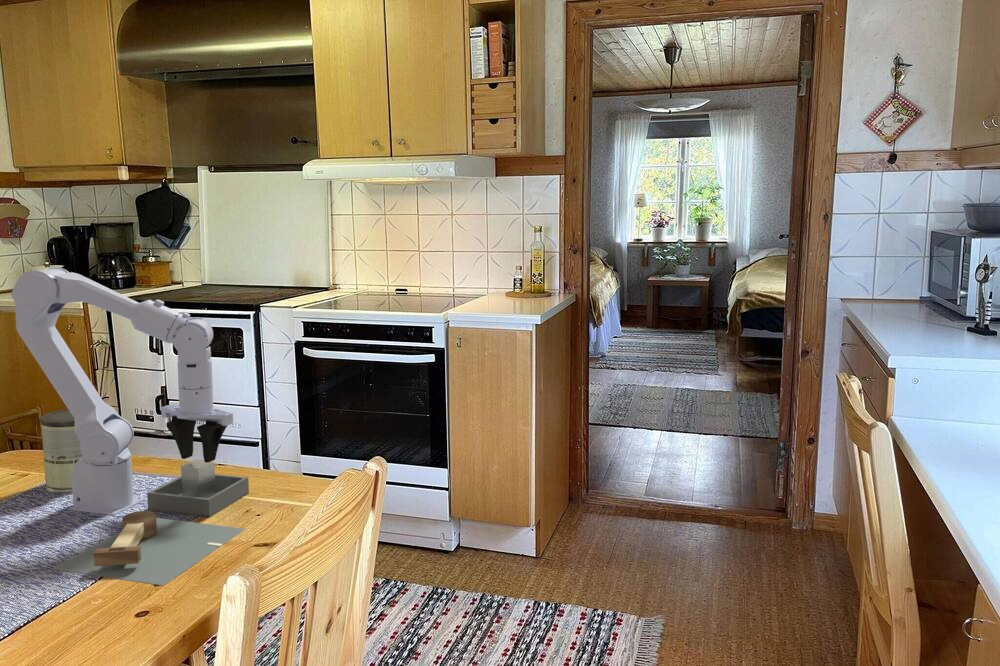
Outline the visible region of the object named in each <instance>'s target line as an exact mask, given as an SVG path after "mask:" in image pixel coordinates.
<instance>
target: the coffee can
mask: <svg viewBox="0 0 1000 666" xmlns="http://www.w3.org/2000/svg"><path fill="white" fill-rule="evenodd" d="M39 422H40V423H41V424H40V425H41V438H42V449H43V450H42V451H43V463H44V466H43V467H44V479H45V480H44V481H45V489H46V491H48V492H49V493H54V494H58V493H59V492H72V470H73V468H74V465H75V464H76V463H77V461H79V460H80V459H81V458H83V455H82V453H81V450H80V442H79V439H78V437H77V435H76V434H75V431H74V427H75V419H74V417H73V415H72V414H71V412H70V411H69V409H68V408H66V409H65V408H64V409H60V410H53V411H51V412H47V413H45V414H43V415H40V417H39Z"/></svg>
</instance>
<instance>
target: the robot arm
mask: <svg viewBox="0 0 1000 666" xmlns="http://www.w3.org/2000/svg"><path fill="white" fill-rule="evenodd" d="M10 296H11V298H12V300H13V301H14V308H15V309H14V311H15V329H16V331H17V333H18V335H19V336H20V338H21V340H22V341H23V343H24V345H25V346H26V347H27V349H28V350H29V352H30V353H31V355H32V357H34V359H35V361H36V362H37V364H38V365H39V367H40V368H41V370H42V371H43V373H44V375H45V376H46V378H47V379H48V381H49V382H50V384H51V385H52V387H53V388H54V389H55V391H56V393H57V394H58V395H59V397H60V399H61V400H62V402H63V404H64V405H65V406H66V409H69V411H70V412H71V414H72V415H73V417H74V419H75V427H74V431H75V434H76V435H77V437H78V439H79V442H80V450H81V453H82V455H83V458H81V459H80V460H79V461H77V463H76V464H75V465H74V468H73V470H72V491H71V492H72V504H73V506H71V507H69V510H70V511H77V512H83V513H85V512H86V513H90V514H91V513H92V514H93V513H94V514H101V515H109V516H117V515H118V514H120V513H122V512H124V511H126V510H128V509H130V508H132V507H133V506H137V505H138V504H140V503H141V502H144V501H145V498H143V497H137V496H134V488H133V471H132V470H133V469H132V468H133V467H132V466H133V465H132V453H131V452H130V450H129V445H130V444H131V443H132V442H133V440H134V436H135V433H134V432H135V431H134V427H133V425H132V423H130V421H128V419H126V418H123V417H122V416H121V415H119V413H118V412H117V410H116V409H115V408H114V407H113V406H111V405H109V404H108V403H106V402H104V400H103V398H102V396H100V394H99V393H98V391H97V389H96V388H95V386H94V385H93V382H91V379H90V378H89V377H88V376H87V374H86V372H85V371H84V369H83V368H82V366H81V364H80V363H79V362H78V360H77V358H76V357H75V355H74V354H73V352H72V351H71V349H70V347H69V346H68V344H67V342H66V341H65V340H64V339H63V337H62V335H61V334H60V332H59V330H58V329H57V328H56V324H57V321H58V319H59V317H60V314H61V311H62V309H64V307H65V306H66V305H67V304H70V303H71V304H72V303H80V302H81V303H86V304H89V305H91V306H95V307H96V308H100V309H102V310H105V311H107V312H110V313H113V314H114V315H115V314H116V315H118V316H121V317H123V318H126V319H128V320H129V321H131V324H132V326H133V329H134V330H136V331H138V332H141V333H144V334H146V335H148V336H151V337H153V338H155V339H158V340H160V341H162V342H165V343H167V344H173V347H174V348H175V349H176V351H177V379H178V384H177V385H178V387H177V388H178V404H179V405H173V404H172V405H171V404H168V405H165V406H160V407H161V409H160V410H161V411H160V414H161V418H163V419H164V418H165V419H167V418H171V419H170V421H167V422H166V424H165V425H166V428H167V430H169V432H170V434H171V435H172V437H173V439H174V440H175V443H176V445H177V448H178V452H179V455H180V457H181V459H182V460H185V459H188V458H191V457H193V455H194V433H195V429H196V430H197V431H198V434H199V437H200V440H201V445H202V456H203V460H204V461H205V462H206V463H208V462H214V461H215V460H216V457H217V452H218V449H219V444H220V442H221V439H222V437H223V434H224V432H225V431H226V429H227V427H228V426H229V425H233V424H234V413H233V412H229V411H225V410H222V409H218V408H216V407H214V390H213V388H214V387H213V365H212V364H213V362H212V352H211V350H212V349H211V346H209V345H210V344H211V343H212V341H213V339H214V330H213V327H212V326H211V324H210V323H209V322H208V321H206V320H204V319H203V318H202V317H199V316H197V317H191V314H190V313H188V312H183V313H181V312H179V311H177V310H174V309H172V308H170V307H168V306H165V302H164V301H163V300H160V299H155V300H152V299H147V300H144V301H141V302H138V301H136V300H135V299H132V298H130V297H128V296H125V295H124V294H122V293H119V292H117V291H115V290H113V289H111V288H109V287H107V286H105V285H102V284H100V283H99V282H96V281H95V280H92V279H91V278H89V277H86V276H84V275H82V274H80V273H76V272H72V271H71V272H69V271H68V270H67V269H65V268H62V267H55V266H54V267H53V266H52V267H49V268H46V269H39V270H37V269H36V270H29V271H25V272H24V273H22V274H21V275H20V276H19V277H18V279H17V281H16V282H15V285H14V286H13V289H12V291H11V294H10ZM197 422H203V424H201V425H197V426H196V423H197Z"/></svg>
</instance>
